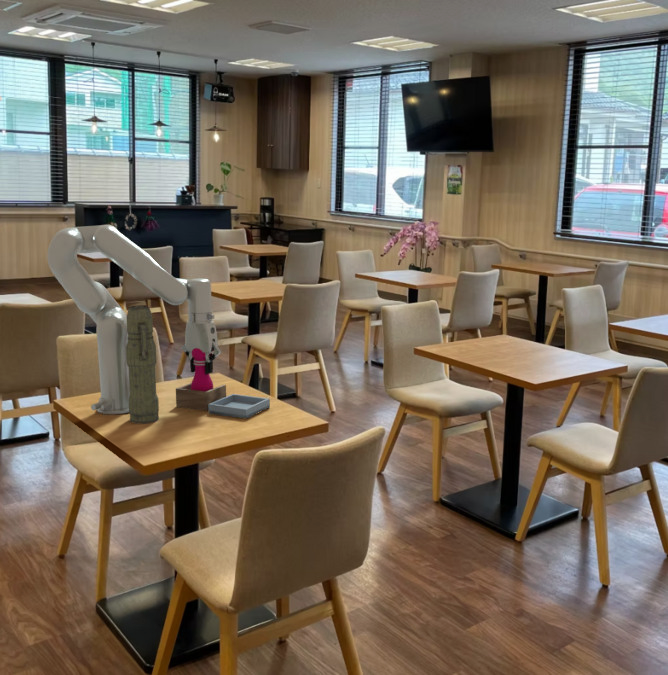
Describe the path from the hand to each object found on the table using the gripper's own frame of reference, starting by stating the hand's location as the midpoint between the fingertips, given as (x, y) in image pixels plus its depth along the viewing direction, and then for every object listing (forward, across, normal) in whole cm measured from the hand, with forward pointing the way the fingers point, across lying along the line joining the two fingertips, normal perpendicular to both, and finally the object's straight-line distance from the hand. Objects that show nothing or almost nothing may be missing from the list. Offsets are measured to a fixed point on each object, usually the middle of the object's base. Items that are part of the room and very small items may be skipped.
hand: (201, 371), depth 262 cm
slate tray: (+11, -15, +1) cm, 19 cm away
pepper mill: (+10, 0, 0) cm, 10 cm away
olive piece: (+11, +6, +22) cm, 26 cm away
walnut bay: (+11, 0, 0) cm, 11 cm away
